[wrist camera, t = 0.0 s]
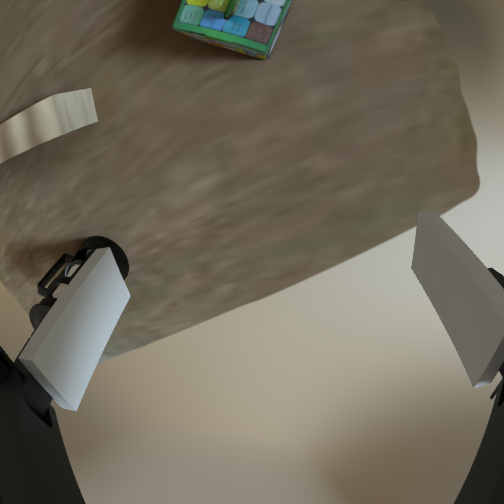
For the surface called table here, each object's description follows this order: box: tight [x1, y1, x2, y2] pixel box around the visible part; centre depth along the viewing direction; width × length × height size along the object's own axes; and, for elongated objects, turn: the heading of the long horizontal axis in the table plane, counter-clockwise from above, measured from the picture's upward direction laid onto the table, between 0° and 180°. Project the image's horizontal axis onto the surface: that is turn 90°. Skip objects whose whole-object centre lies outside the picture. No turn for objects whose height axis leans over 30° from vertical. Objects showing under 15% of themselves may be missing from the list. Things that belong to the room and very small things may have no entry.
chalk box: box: [172, 0, 292, 60], centre depth 22 cm, size 9×9×15 cm
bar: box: [0, 88, 98, 164], centre depth 32 cm, size 22×5×9 cm, turn 99°
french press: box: [29, 236, 129, 330], centre depth 38 cm, size 12×9×23 cm
